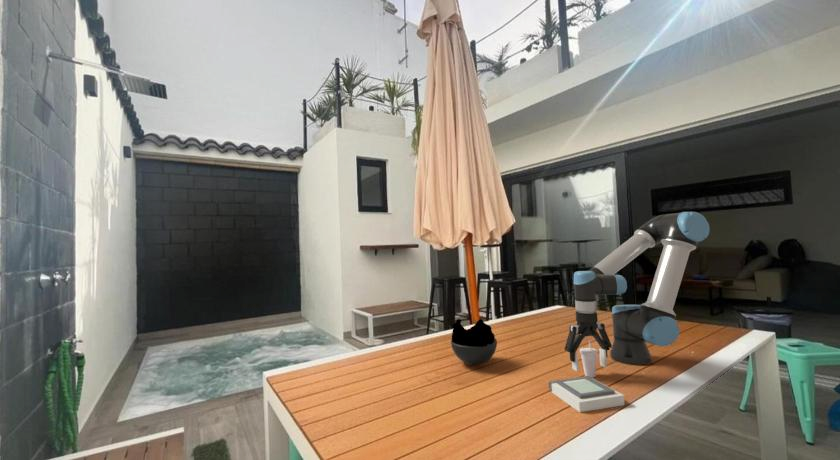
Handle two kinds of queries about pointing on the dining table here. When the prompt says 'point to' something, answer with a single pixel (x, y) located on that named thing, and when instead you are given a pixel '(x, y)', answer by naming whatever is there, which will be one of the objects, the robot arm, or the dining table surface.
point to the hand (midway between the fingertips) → (589, 368)
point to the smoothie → (589, 360)
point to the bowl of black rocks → (473, 342)
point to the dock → (586, 393)
